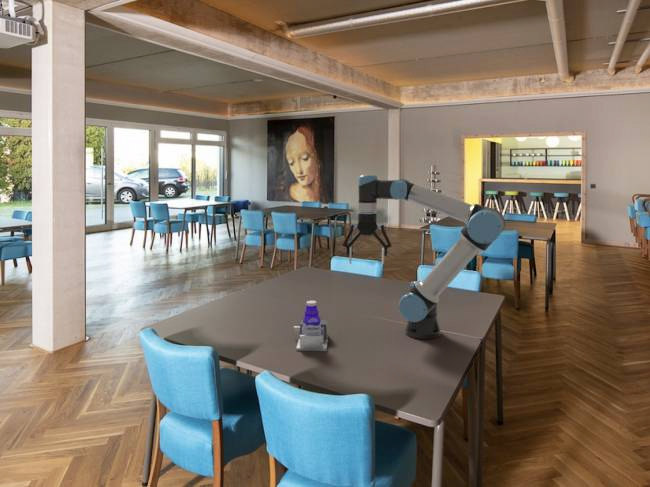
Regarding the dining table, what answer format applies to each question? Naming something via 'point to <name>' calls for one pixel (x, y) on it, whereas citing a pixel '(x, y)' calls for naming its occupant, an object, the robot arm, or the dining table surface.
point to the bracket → (312, 342)
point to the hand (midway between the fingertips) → (366, 263)
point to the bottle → (311, 319)
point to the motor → (323, 324)
